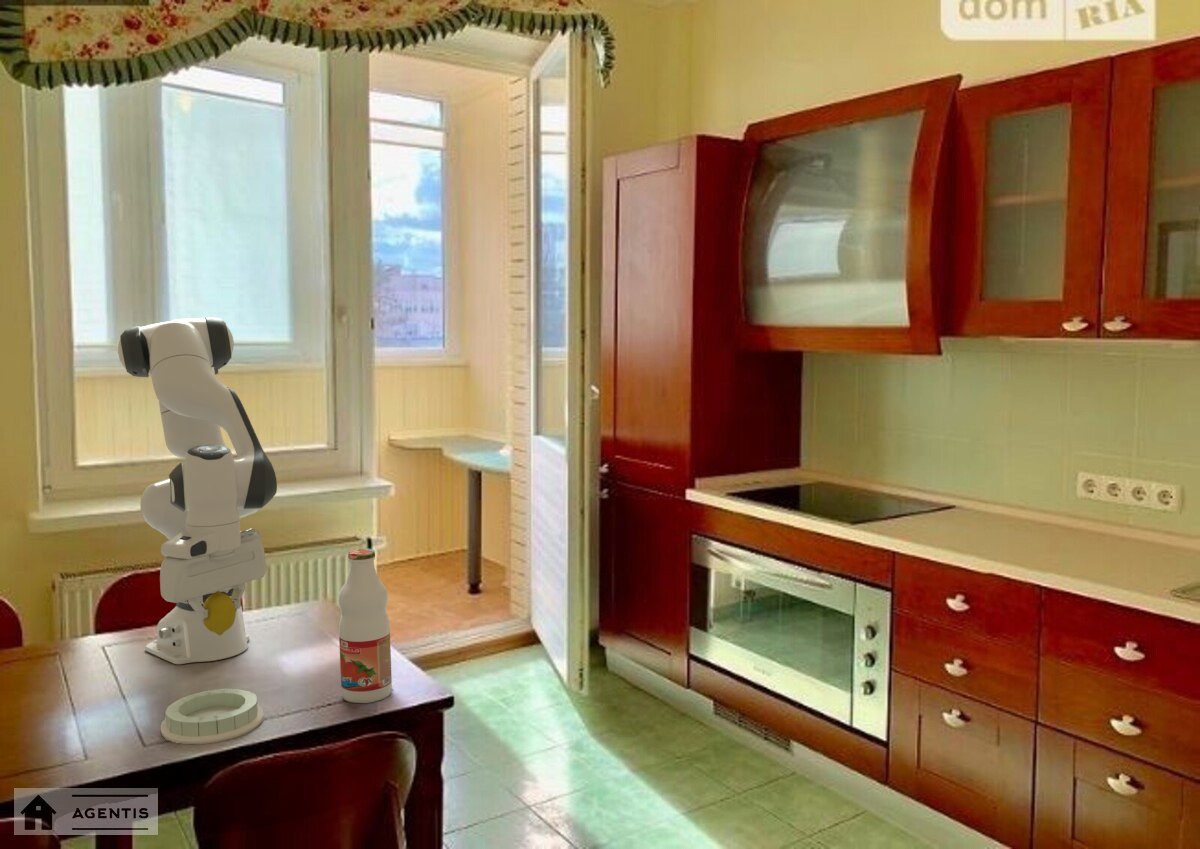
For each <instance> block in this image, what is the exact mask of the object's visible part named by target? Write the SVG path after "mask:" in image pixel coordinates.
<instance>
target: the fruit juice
mask: <svg viewBox="0 0 1200 849" xmlns="http://www.w3.org/2000/svg"><path fill="white" fill-rule="evenodd" d="M347 553H348V556H347V558H348V562H349V564H350V565H349V570H348V573H347V578H346V580H345V583H343V585H342V587H341V589H340V590H339V593H338V606H339V609H340V612H341V616H340V619H339V622H338V640H339V642H338V643H339V662H340V663H339V664H340V665H339V667H340V684H341V685H340V688H341V690H340V691H341V696H342V698H343V699H344V700H345V701H346V702H349V703H354V704H368V703H374V702H375V703H376V702H378V701H381V700H384V699H386V698H387V697H388V696H390V695H391V692H392V688H393V683H392V682H393V681H392V680H393V679H392V678H393V677H392V658H391V657H392V655H391V653H392V650H391V626H390V619H389V615H388V613H387V606H388V601H389V594H388V590H387V587H386V586H385V584H384V583H383V582H382V581H381V580H380V579H379V576H378V573H377V571H376V568H375V562H374V560H375V559H376V551H375V550H374V549H372V548H357V549H351V550H350V551H348V552H347Z"/></svg>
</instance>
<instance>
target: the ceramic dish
mask: <svg viewBox="0 0 1200 849" xmlns="http://www.w3.org/2000/svg"><path fill="white" fill-rule="evenodd" d="M258 701H259V700H258V696H257V695H256V694H255V693H254V692H253V691H249V690H245V689H240V688H220V689H217V688H216V689H210V690H204V691H200V692H197V693H196V692H195V693H192V694H189V695H186V696H184V697H181V698H178V699H177V700H175V701H174V702H173V703H170V705H168V706H167V707H166V710H165V713H164V714H165V715H164V716H165V719H164V720H163V721H162V722H161V724H160V734H162V735H161V736H163V737H164V738H166V739H167V740H166V739H165V740H166V741H168V740H170V741H172V742H171V743H173V742H178V743H184V744H183V745H187V744H196V745H197V744H198V745H208V744H215V743H219V742H224V741H229V740H232V739H235V738H238V737H241V736H243V735H246V734H248V733H250V732H252V731H254V730H255V729H257V728H258V727H259V726H260V725H261V724H262V723H263V721H264V719H265V717H264V716H265V714H264V711H265V710H264V709H263V707H262V706H261V705H260V704H259V702H258ZM163 737H162V738H163ZM164 738H163V739H164ZM170 741H169V742H170ZM178 743H177V744H178Z"/></svg>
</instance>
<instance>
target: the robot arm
mask: <svg viewBox="0 0 1200 849" xmlns="http://www.w3.org/2000/svg"><path fill="white" fill-rule="evenodd" d="M119 337H120V339H119V341H118V344H117V345H118V346H117V355H118V358H119V361H120V363H121V365H122V366H123V368H124V369H125V370H126V373H127V374H130V375H131V376H133V377H137V378H149V376H151V382H152V383H151V384H152V387H153V390H154V393H155V397H156V399H157V400H158V404H159V405H158V406H159V412H160V418H161V423H162V429H163V434H164V435H163V436H164V441H165V446H166V448H167V449H168V451H169V452H170V453H171V454H172V455H174V456H176V457H177V458H180V459H182V460H184V462H180V463H179V464H177V465H176V466H175V467H174V468H173V469H172V471H171V472H170V473H169V474H168V478H165V479H162V480H160V481H159V480H158V481H157V482H154V483H151V484H149V485H148V486H146V488H145V490H144V491H143V493H142V495H141V498H140V502H139V503H140V512H141V515H142V517H143V519H144V521H145V522H146V523H147V524H148V526H150V527H151V528H152V529H154V530H157V531H158V532H160V533H161V534H162V535H164V536H165V538H166V539H168V540H166V541H164V543H162V544H161V546H160V553H161V555H162V556H164V557H165V558H163V560H162V562H161V564H160V569H159V570H160V572H159V574H160V575H159V583H160V584H159V585H160V586H159V587H160V595H161V597H162V598H163V599H164V600H165V601H166V602H170V603H174V604H176V605H175V607H174V608H173V609H172V610H170V612H168V613H167V614H166V615H165V616H164V617H163V618H161V619H160V620H159V621H158V623H157V628H156V639H155V640H152V641H151V642H149V643H147V644H146V645H145V651H146V652H148V653H150V654H152V655H154V656H156V657H159V658H161V659H163V660H165V661H167V662H170V663H172V664H174V665H184V664H189V663H201V662H203V663H204V662H213V661H218V660H219V661H220V660H223V659H228V658H231V657H234V656H237V655H239V654H241V653H244V652H245V651H246V650H247V649H248V648H249V644H248V641H249V640H250V635H249V633H247V631H246V625H245V618H244V612H243V607H242V601H241V599H242V598H243V595H244V592H245V591H246V583H248V582H252V581H255V580H258V579H262V578H264V577H265V576H266V573H267V570H268V565H267V560H266V553H265V548H264V545H263V538H262V534H261V532H260V531H258V530H256V529H255V528H248V529H246V530H241V523H240V522H241V519H242V518H245V517H247V516H250V515H253V514H255V513H257V512H258V511H259V510H260V509H262V508H264V507H265V506H266V505H267V504H269V503H270V501H271V500H272V499H273V498H274V497H275V496H276V495H277V490H278V479H277V474H276V471H275V469H274V466H273V464H272V462H271V461H270V459H269V457H268V456H267V453H265V450H264V449H263V447H262V445H261V442H260V440H259V438H258V436H257V434H256V431H255V429H254V428H253V425H252V423H251V420H250V418H249V415H248V413H247V411H246V409H245V407H244V405H243V403H242V401H241V400H240V397H239V396H238V394H237V393H236V391H235V390H233V389H232V388H230V387H227V386H226V385H225V384H224V383H222V382H221V381H220V380H219V379H218V378H217V376H216V375H218V374H219V370H220V369H222V368H223V367H225V366H227V365H228V363H229V362H230V360H231V359H232V355H233V351H234V344H235V342H234V337H233V333H232V331H231V330H230V328H229V327H228V326H227V323H226V321H224V320H223V319H222V318H220V317H209V316H206V317H205V318H180V319H179V318H178V319H173V320H169V321H162V322H157V323H152V324H147V325H144V326H140V325H136V326H132V327H130V328H127V329H124V331H123V332H122V333H121V334H120V336H119ZM221 428H222V429H223V430H224V431H225V432H226V433H227V435H228V437H229V439H230V442H231V444H232V446H233V449H234V451H235V454H236V455H237V456H236V457H234V456H233V452H232V450H231V449H230V448H228V447H227V445H226V443H225V441H224V436H223V434H222V430H221ZM217 591H220V592H221V593H224V594H226V595H228V596H229V597H230V598H231V599H232V601H233V603H234V606H235V610H236V616H235V620H234V623H233V625H232V626H231V627H230V628H229V629H228V630H226V631H225V632H224V633H223V634H222V635H217V634H216V633H215V632H212V631H210V630H208V629H207V628H206V626H205V625H204V622H203V620H205V619H208V618H209V615H208V613H209V611H208V609H204V608H203V605H204V603H205V601H206V600H207V598H208V597H210V596H211V595H213V594H215V593H216V592H217Z"/></svg>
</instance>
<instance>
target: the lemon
mask: <svg viewBox="0 0 1200 849" xmlns="http://www.w3.org/2000/svg"><path fill="white" fill-rule="evenodd" d="M203 608H204V609H208V611H209V613H208V615H209V618H208V619H205V620H203V622H204V625H205V626H206V628H207V629H208V630H210V631H212V632H215V633H216V634H217V635H222V634H223V633H224V632H225V631H226V630H228V629H229V628H230V627H231V626H232V625H233V623H234V620H235V616H236V610H235V606H234V603H233V601H232V599H231V598H230V597H229V596H228V595H226V594H224V593H221V592H220V591H217V592H216V593H215V594H213V595H211V596H210V597H208V598H207V600H206V601H205V603H204V605H203Z"/></svg>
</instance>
